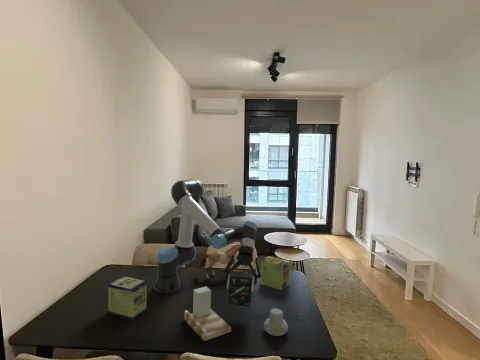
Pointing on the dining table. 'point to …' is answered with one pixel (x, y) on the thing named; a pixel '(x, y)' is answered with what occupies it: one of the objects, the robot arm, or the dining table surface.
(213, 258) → the horse figurine
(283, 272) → the protein box
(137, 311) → the protein box
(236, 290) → the tampon box
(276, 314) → the air freshener
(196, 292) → the sage carton
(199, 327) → the pale wooden board
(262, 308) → the dining table surface
